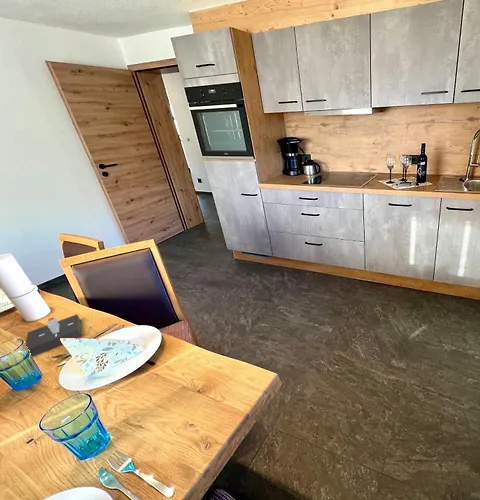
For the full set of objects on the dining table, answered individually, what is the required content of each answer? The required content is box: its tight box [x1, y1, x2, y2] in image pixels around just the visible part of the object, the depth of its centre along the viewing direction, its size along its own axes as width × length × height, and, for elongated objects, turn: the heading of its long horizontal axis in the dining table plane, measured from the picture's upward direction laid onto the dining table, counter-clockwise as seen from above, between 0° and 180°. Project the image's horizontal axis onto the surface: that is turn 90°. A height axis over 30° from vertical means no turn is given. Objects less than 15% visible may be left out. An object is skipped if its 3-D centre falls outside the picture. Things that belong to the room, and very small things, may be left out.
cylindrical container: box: [0, 252, 51, 322], centre depth 105 cm, size 7×7×25 cm
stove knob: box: [47, 316, 60, 334], centre depth 97 cm, size 5×2×4 cm, turn 41°
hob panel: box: [25, 314, 83, 357], centre depth 98 cm, size 13×11×3 cm
